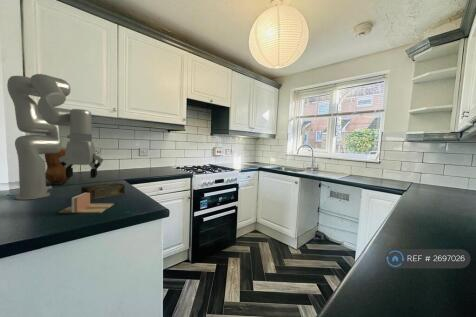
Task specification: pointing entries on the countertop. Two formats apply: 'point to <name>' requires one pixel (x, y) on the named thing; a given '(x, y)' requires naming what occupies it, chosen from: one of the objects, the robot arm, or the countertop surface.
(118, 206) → the countertop surface
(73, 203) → the slab
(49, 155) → the butternut squash
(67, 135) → the robot arm
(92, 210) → the mat
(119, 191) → the beverage carton
